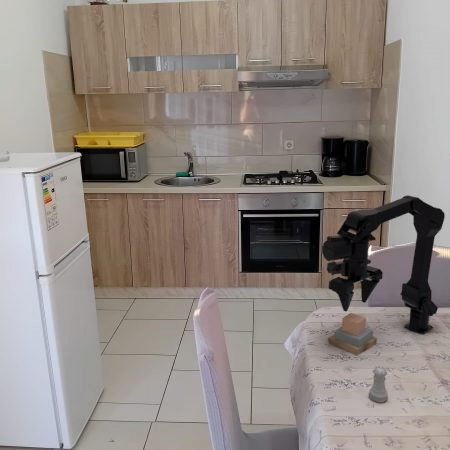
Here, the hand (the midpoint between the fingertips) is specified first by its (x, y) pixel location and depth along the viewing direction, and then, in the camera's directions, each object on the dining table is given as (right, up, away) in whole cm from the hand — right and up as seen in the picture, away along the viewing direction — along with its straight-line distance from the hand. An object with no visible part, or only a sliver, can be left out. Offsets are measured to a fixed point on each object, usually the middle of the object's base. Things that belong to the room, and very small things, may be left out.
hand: (354, 306), depth 138 cm
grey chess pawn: (-1, -19, -23) cm, 30 cm away
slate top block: (0, -10, +3) cm, 10 cm away
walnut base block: (0, -12, +3) cm, 13 cm away
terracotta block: (0, -7, +2) cm, 8 cm away
